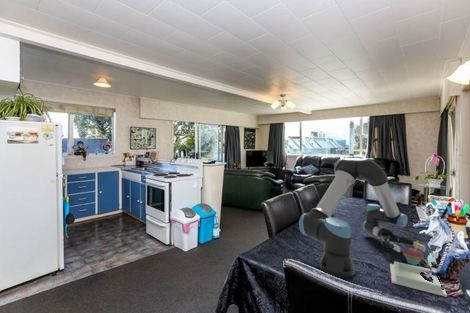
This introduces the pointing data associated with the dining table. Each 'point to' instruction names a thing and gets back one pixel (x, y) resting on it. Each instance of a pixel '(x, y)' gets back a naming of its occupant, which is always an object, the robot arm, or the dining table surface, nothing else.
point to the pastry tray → (414, 278)
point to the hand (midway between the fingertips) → (412, 249)
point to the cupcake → (413, 255)
